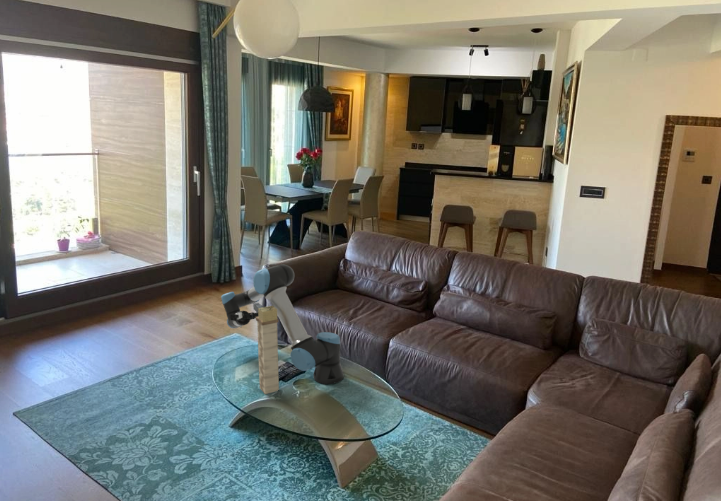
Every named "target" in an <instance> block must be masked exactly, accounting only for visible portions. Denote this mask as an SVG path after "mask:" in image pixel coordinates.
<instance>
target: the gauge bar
mask: <svg viewBox="0 0 721 501" xmlns="http://www.w3.org/2000/svg"><path fill="white" fill-rule="evenodd" d="M253 311H255V313H256V312H257V313H258V316H259V319H260V320H261V321H262V322H267V321H272V320H277V319H278V315H277V309H276V308H275V307H274V306H273V305H268V306H263V305H262V304H261V303H260V302H256V303H253Z"/></svg>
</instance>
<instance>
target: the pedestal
mask: <svg viewBox="0 0 721 501" xmlns="http://www.w3.org/2000/svg"><path fill="white" fill-rule="evenodd" d="M255 321H256V323H257V324H256V325H257V326H256V327H257V328H256V329H257V348H258V349H257V350H258V351H257V352H258V353H257V354H258V377H259V378H258V380H259V390H261V391H262V392H263V394H264V395H267V394H271V393H275V392H279V391H280V383H279V382H280V380H279V376H280V375H279V351H278V349H279V348H278V347H279V345H278V342H279V341H278V323H279V318H277V320H272V321H267V322H262V321H261V320H260V319H259V316H258V317H256V318H255ZM278 390H279V391H278Z"/></svg>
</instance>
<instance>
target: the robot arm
mask: <svg viewBox="0 0 721 501" xmlns="http://www.w3.org/2000/svg"><path fill="white" fill-rule="evenodd" d="M294 280H295V272H294V269H293V268H292V267H291V266H290V265H287V264H284V263H283V264H278V265H277V264H276V265H274V266H270V267H265V268H262V269H259V270H258V271H256V272H255V273H254V276H253V283H252V284H253V286H252V287H251V288H250V289H247V290H246V291H244V292H241V293H235V292H234V291H229V292H226V293H224V294H222V295H221V297H220V299H221V304H222V305H223V307H224V308H223V309H224V312H225V313H226V317H227V319H226V325H227V326H228V327H229V328H230V329H238V328H242V327H243V326H246V325H248V324H249V323H250V322H251V320H256V317H258V313H257V312H256V311H255V312H248V311H246V310H241V308H243V307H246V306H249V305H252V304H253V303H259V301H260V300H261V299H263V298H264V299H266V300H269V302H270V304H271V306H274V307H275V308H276V309H277V318H278V320H279V321H280V322H281V325H282V327H283V328H284V331H285V332H286V335H287V336H288V338H289V341H290V342H291V345H290V350H291V352H290V360H291V363H292V365H293V366H294V367H295V368H296V369H297V370H299V371H302V372H304V371H305V372H306V371H309V370H312V369H314V371H313V380H314V381H315V382H317V383H318V384H323V385H332V384H333V385H334V384H338V383H339V382H341V381H343V379H344V370H343V368H342V364H341V338H340V336H339V335H338V334H337V333H335V332H334V333H333V332H328V331H326V332H325V331H324V332H318V333H317V334H316V339H314V337H313V335H309V334H308V332H307V330H306V329H305V327H304V324H303V323H302V321H301V319H300V317H299V315H298V314H297V311H296V309H295V308H294V306H293V304H292V302H291V300H290V298H289V296H288V294H287V292H286V291H287V287H288V286H290V285H291V284H292V283H293V282H294Z"/></svg>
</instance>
